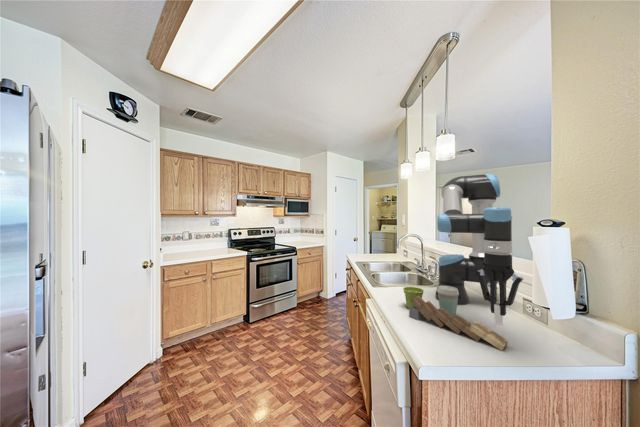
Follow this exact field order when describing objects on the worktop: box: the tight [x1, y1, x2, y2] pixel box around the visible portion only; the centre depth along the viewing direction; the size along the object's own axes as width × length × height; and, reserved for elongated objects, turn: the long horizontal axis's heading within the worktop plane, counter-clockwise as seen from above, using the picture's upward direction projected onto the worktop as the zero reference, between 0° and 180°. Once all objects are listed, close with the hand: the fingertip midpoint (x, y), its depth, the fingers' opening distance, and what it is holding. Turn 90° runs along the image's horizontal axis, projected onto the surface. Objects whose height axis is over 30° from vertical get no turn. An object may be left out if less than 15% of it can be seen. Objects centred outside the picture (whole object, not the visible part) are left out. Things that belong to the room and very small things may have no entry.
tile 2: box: [449, 313, 483, 343], centre depth 84 cm, size 5×2×10 cm
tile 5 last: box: [411, 296, 433, 322], centre depth 98 cm, size 5×2×10 cm
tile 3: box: [434, 307, 463, 335], centre depth 89 cm, size 5×2×10 cm
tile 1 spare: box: [469, 320, 509, 352], centre depth 79 cm, size 5×2×10 cm
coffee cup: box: [436, 286, 459, 316], centre depth 101 cm, size 8×8×12 cm
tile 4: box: [421, 300, 447, 329], centre depth 94 cm, size 5×2×10 cm
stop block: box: [408, 306, 425, 321], centre depth 100 cm, size 6×4×4 cm, turn 127°
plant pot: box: [402, 286, 425, 309], centre depth 110 cm, size 9×9×9 cm
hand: (498, 323), depth 77 cm, fingers closed
